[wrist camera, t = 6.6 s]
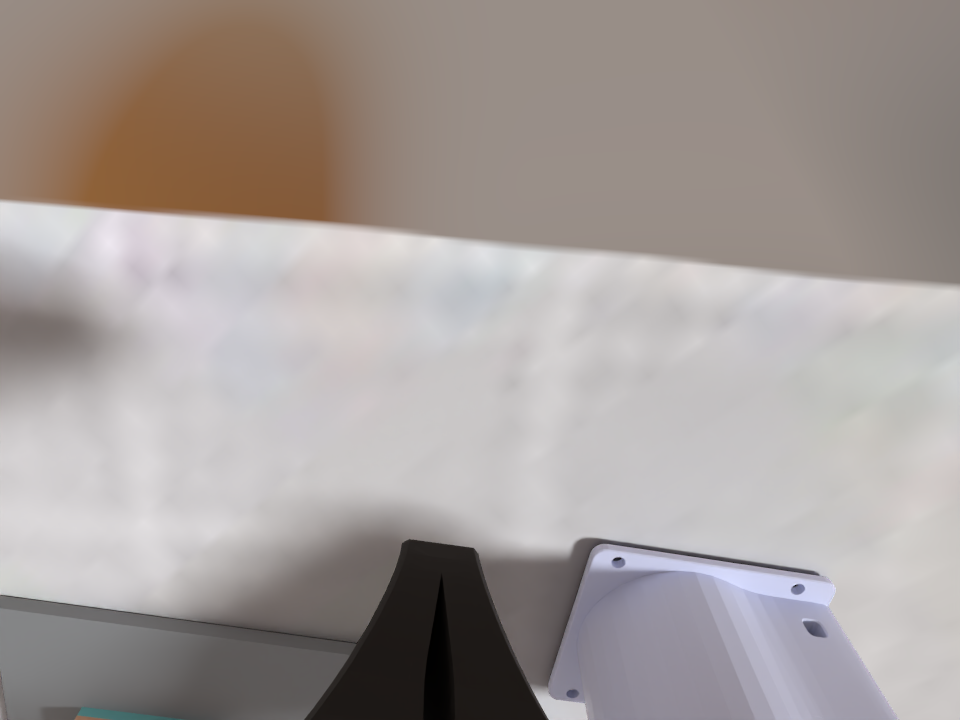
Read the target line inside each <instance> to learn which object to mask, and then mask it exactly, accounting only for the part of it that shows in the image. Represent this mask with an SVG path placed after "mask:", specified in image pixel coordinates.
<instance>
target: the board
mask: <svg viewBox="0 0 960 720" xmlns="http://www.w3.org/2000/svg"><path fill="white" fill-rule="evenodd" d="M356 645H357V644H355V643H348V642H341V641H333V640H326V639H318V638H311V637H304V636H296V635H289V634H281V633H274V632H267V631H259V630H252V629H245V628H237V627H230V626H222V625H215V624H208V623H200V622H193V621H185V620H178V619H171V618H163V617H156V616H148V615H141V614H134V613H126V612H119V611H111V610H104V609H97V608H89V607H82V606H74V605H67V604H60V603H52V602H45V601H38V600H30V599H23V598H15V597H8V596H0V672H1V679H2V686H3V692H4V699H5V706H6V712H7V719H8V720H75V718H76V716H77V715H78V713H79V711H80V710H81V708H82V707H87V708H95V709H103V710H112V711H120V712H128V713H136V714H144V715H152V716H160V717H168V718H176V719H184V720H304V719H305V718H306V717H307V715H308V714H309V713H310V712H311V710H312V709H313V708H314V706H315V705H316V704H317V702H318V701H319V700H320V698H321V697H322V696H323V694H324V693H325V691H326V690H327V689H328V687H329V686H330V684H331V683H332V682H333V680H334V679H335V677H336V676H337V674H338V673H339V671H340V670H341V668H342V667H343V665H344V664H345V662H346V661H347V659H348V658H349V656H350V654H351V653H352V651H353V650H354V648H355V646H356Z"/></svg>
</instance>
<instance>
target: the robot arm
mask: <svg viewBox="0 0 960 720" xmlns="http://www.w3.org/2000/svg"><path fill="white" fill-rule="evenodd" d="M616 557H621V558H622V559H621V560H619V561H613V559H614V558H616ZM796 584H799V585H798V586H796V587H793V586H794V585H796ZM835 591H836V589H835V586H834V584H833V583H832V581H831V580H830V579H829V578H827V577H823V576H817V575H810V574H803V573H797V572H790V571H784V570H777V569H770V568H764V567H757V566H750V565H744V564H737V563H731V562H724V561H717V560H711V559H704V558H697V557H691V556H684V555H678V554H671V553H664V552H658V551H651V550H644V549H638V548H631V547H625V546H618V545H611V544H600V545H597V546H596V547H594V548H593V549H592V551H591V553H590V556H589V559H588V562H587V565H586V568H585V571H584V574H583V577H582V581H581V584H580V587H579V590H578V593H577V596H576V599H575V602H574V605H573V608H572V611H571V615H570V618H569V621H568V624H567V627H566V630H565V633H564V636H563V639H562V642H561V645H560V649H559V652H558V655H557V658H556V661H555V664H554V667H553V670H552V673H551V676H550V680H549V683H548V690H549V694H550V696H551V697H553V698H554V699H557V700H564V701H572V702H579V703H585V705H586V711H587V718H588V720H899V719H898V717H897V715H896V714H895V712H894V711H893V709H892V707H891V706H890V704H889V703H888V701H887V699H886V698H885V696H884V695H883V693H882V691H881V690H880V688H879V687H878V685H877V683H876V682H875V680H874V679H873V677H872V675H871V674H870V672H869V671H868V669H867V667H866V666H865V664H864V663H863V661H862V659H861V658H860V656H859V655H858V653H857V651H856V650H855V648H854V647H853V645H852V643H851V642H850V640H849V639H848V637H847V635H846V634H845V632H844V631H843V629H842V627H841V626H840V624H839V623H838V621H837V619H836V618H835V616H834V615H833V613H832V611H831V610H830V608H829V607H828V606H829V604H830V602H831V600H832V598H833V596H834V595H835ZM571 689H574V690H571ZM304 720H549V719H548V718H547V716H546V714H545V713H544V711H543V709H542V707H541V706H540V704H539V702H538V700H537V698H536V696H535V695H534V693H533V691H532V689H531V687H530V685H529V683H528V681H527V679H526V677H525V675H524V673H523V671H522V669H521V667H520V665H519V663H518V661H517V659H516V656H515V654H514V652H513V650H512V648H511V645H510V643H509V641H508V638H507V636H506V634H505V631H504V629H503V627H502V624H501V622H500V620H499V617H498V614H497V612H496V609H495V607H494V604H493V601H492V598H491V596H490V593H489V590H488V587H487V584H486V581H485V578H484V574H483V571H482V567H481V564H480V560H479V555H478V553H477V552H476V551H475V549H474V548H469V547H461V546H454V545H447V544H439V543H432V542H425V541H417V540H410V539H409V540H407V541H405V542H404V543H402V547H401V552H400V556H399V559H398V563H397V566H396V568H395V571H394V574H393V576H392V578H391V581H390V583H389V585H388V587H387V590H386V592H385V594H384V596H383V598H382V600H381V602H380V604H379V606H378V608H377V610H376V611H375V613H374V615H373V617H372V619H371V621H370V623H369V625H368V626H367V628H366V630H365V632H364V633H363V635H362V636H361V638H360V640H359V641H358V643H357V645H356V646H355V648H354V650H353V651H352V653H351V654H350V656H349V658H348V659H347V661H346V662H345V664H344V665H343V667H342V668H341V670H340V671H339V673H338V674H337V676H336V677H335V679H334V680H333V682H332V683H331V684H330V686H329V687H328V689H327V690H326V691H325V693H324V694H323V696H322V697H321V698H320V700H319V701H318V702H317V704H316V705H315V706H314V708H313V709H312V710H311V712H310V713H309V714H308V715H307V717H306V718H305V719H304Z"/></svg>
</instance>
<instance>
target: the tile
mask: <svg viewBox="0 0 960 720" xmlns="http://www.w3.org/2000/svg"><path fill="white" fill-rule="evenodd" d="M75 720H184V719H176V718H168V717H160V716H152V715H144V714H136V713H128V712H120V711H112V710H103V709H95V708H87V707H82V708H81V710H80V711H79V713H78V715H77V716H76V718H75Z"/></svg>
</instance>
